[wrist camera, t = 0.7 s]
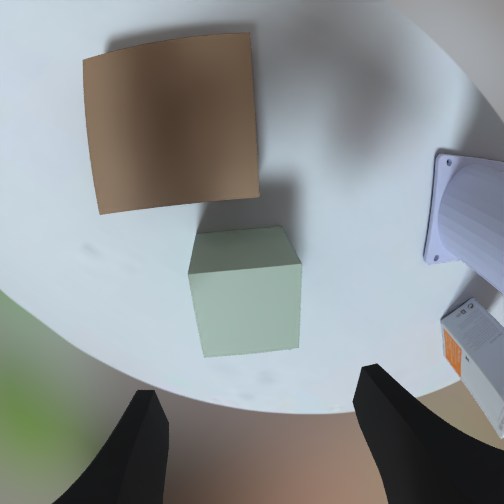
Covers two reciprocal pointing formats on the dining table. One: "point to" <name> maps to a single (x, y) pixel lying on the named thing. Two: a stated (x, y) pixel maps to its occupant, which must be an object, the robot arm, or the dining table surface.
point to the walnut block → (172, 123)
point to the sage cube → (246, 291)
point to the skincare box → (478, 357)
